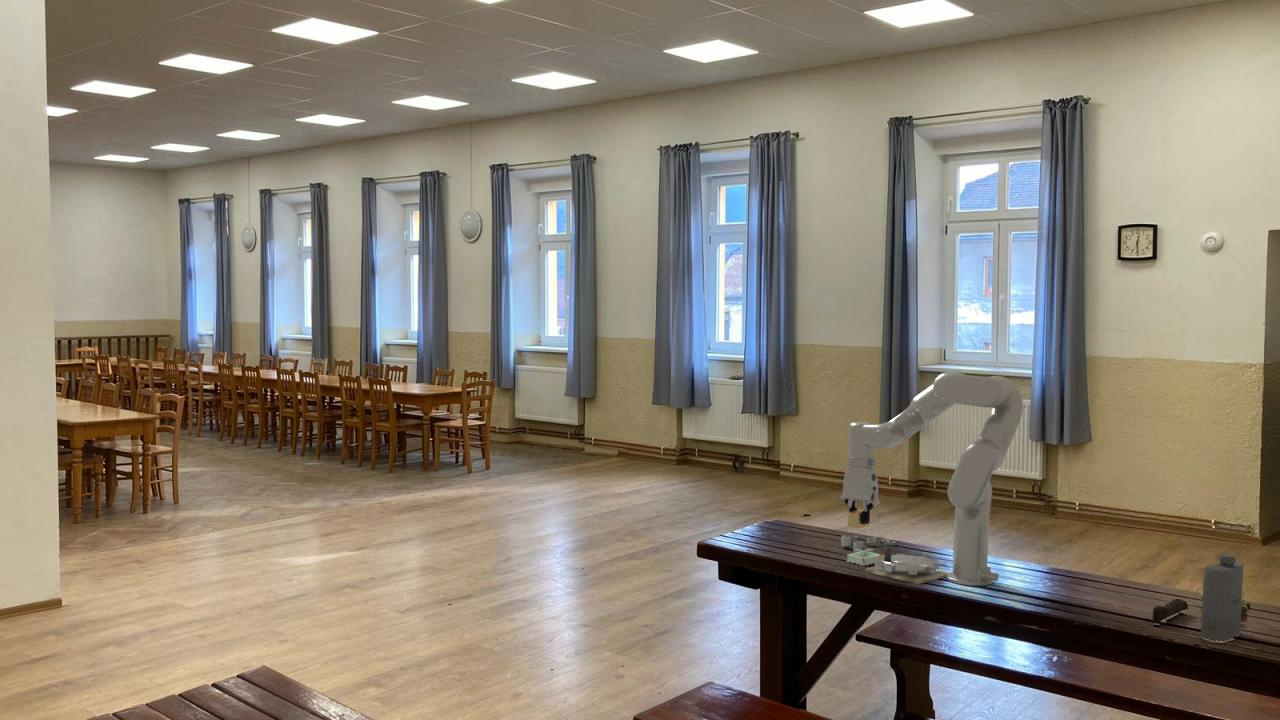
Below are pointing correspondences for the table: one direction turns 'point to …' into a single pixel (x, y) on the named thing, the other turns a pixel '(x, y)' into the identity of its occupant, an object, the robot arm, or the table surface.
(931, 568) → the sprocket
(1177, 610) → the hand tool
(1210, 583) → the flask
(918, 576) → the bearing plate
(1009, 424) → the robot arm
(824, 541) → the table surface
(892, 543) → the pulley system
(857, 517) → the yellow block
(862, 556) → the seat
